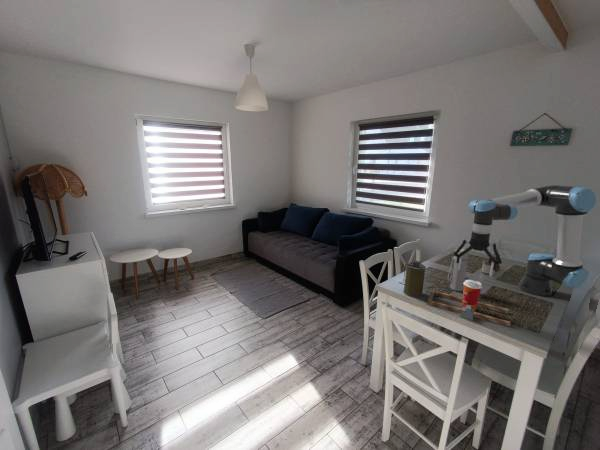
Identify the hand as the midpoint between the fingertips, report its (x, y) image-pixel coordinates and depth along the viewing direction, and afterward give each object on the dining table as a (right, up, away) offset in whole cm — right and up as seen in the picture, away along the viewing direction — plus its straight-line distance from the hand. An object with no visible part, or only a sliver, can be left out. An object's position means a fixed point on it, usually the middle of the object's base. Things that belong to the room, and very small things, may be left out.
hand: (474, 272), depth 135 cm
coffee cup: (0, -20, +4) cm, 21 cm away
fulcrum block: (-6, -22, -3) cm, 23 cm away
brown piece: (0, -20, +5) cm, 21 cm away
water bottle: (+6, -15, +27) cm, 31 cm away
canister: (-23, -16, +21) cm, 35 cm away
